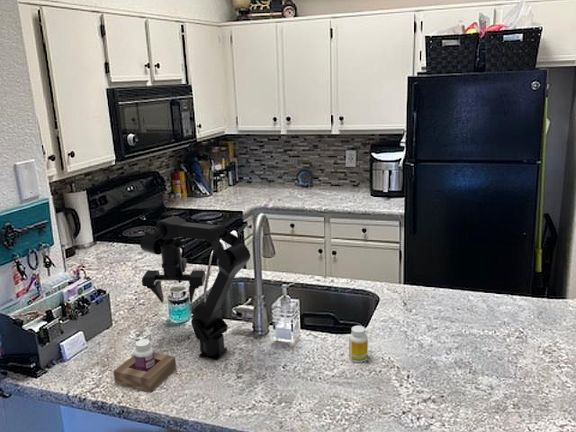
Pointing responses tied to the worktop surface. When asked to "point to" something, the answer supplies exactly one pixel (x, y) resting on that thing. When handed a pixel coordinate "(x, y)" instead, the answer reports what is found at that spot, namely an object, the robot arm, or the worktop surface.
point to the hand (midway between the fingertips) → (176, 301)
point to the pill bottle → (144, 355)
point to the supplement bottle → (358, 344)
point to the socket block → (145, 373)
